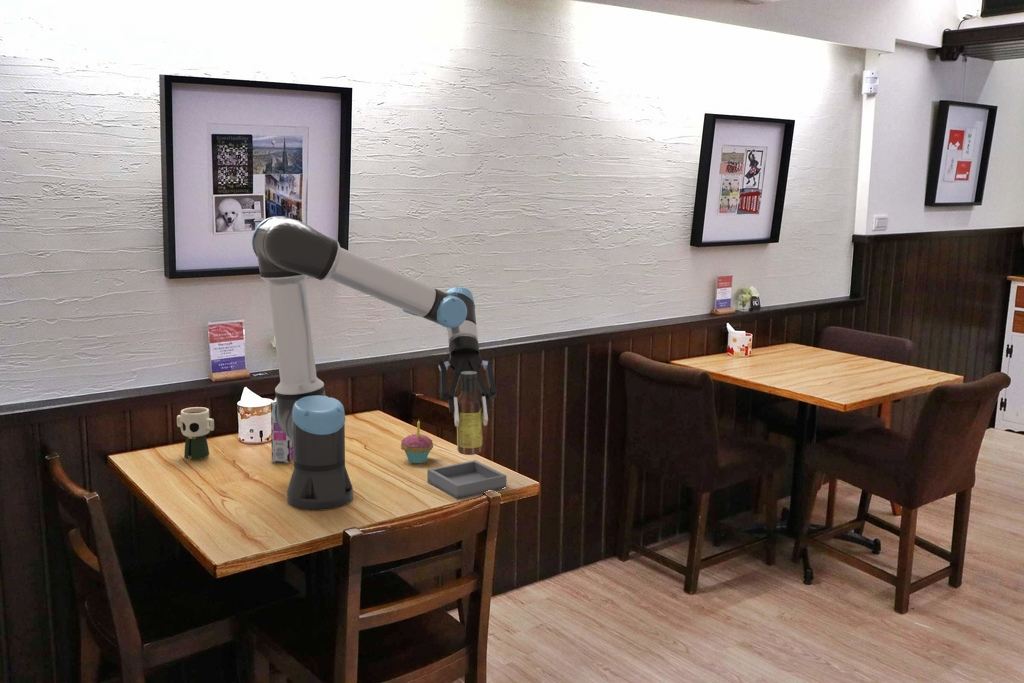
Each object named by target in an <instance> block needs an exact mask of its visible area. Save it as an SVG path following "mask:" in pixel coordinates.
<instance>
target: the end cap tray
mask: <svg viewBox="0 0 1024 683" xmlns="http://www.w3.org/2000/svg"><path fill="white" fill-rule="evenodd" d="M507 477H508V476H507V475H506V474H504V473H502V472H500V471H497V469H494V468H492V467H490V466H488V465H486V464H484V463H481V462H480V461H478V460H476V459H475V460H468V461H465V462H464V461H463V462H459V463H454V464H449V465H445V466H444V465H443V466H439V467H434V468H429V469H427V483H428V484H430V485H432V487H433V486H434V487H435V488H436V489H439V490H440V491H441V492H444V493H445V494H447V495H449V496H450V497H452V498H454V499H456V500H461V499H465V498H470V497H475V496H479V495H483V493H484V492H486V491H488V490H497V491H500V490H499V489H502V488H504V487H506V488H507V479H508V478H507ZM502 490H503V489H502ZM497 491H496V492H497ZM484 494H485V493H484Z"/></svg>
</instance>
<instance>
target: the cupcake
mask: <svg viewBox="0 0 1024 683" xmlns="http://www.w3.org/2000/svg"><path fill="white" fill-rule="evenodd" d="M420 426H421V422H420V420H418V421H417V427H416V433H413V434H409V435H407V436H406V437H404V438H403V439H402V440H401V441H400V443H401V444H400V449H401V450H402V451H404V452H405V454H406V457H407V461H408V462H409V463H410V462H411V464H415V463H420V464H424V463H426V462H427V460H428V456H429V454H430V451H432V449H434V443H433V440H432V439H431V438H430V437H429V436H427V435H423V434H421V432H420V430H421V429H420V428H421V427H420ZM423 462H424V463H423Z"/></svg>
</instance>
